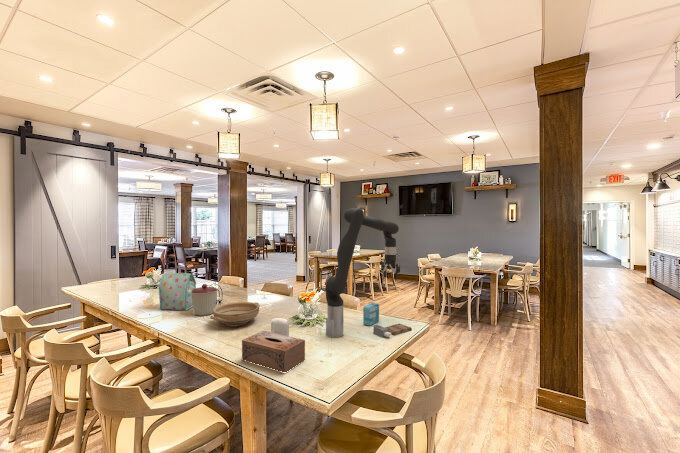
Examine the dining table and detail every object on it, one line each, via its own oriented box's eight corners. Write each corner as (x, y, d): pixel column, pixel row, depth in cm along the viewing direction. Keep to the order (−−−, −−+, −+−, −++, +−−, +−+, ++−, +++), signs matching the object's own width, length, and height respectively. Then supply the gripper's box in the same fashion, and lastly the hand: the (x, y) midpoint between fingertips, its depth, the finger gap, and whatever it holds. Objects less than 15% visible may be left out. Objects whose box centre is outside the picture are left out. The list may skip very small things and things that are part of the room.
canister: (212, 317, 212) (211, 286, 212) (185, 317, 212) (185, 286, 212) (222, 310, 230) (222, 281, 230) (198, 310, 230) (197, 281, 230)
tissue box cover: (304, 361, 146) (304, 339, 146) (285, 374, 134) (285, 351, 134) (263, 350, 159) (263, 330, 159) (242, 361, 146) (241, 340, 146)
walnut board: (393, 335, 178) (393, 332, 178) (381, 330, 186) (381, 327, 186) (411, 330, 187) (411, 327, 187) (399, 325, 195) (399, 323, 195)
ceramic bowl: (228, 336, 177) (228, 318, 177) (196, 327, 192) (196, 311, 191) (273, 318, 210) (273, 303, 209) (242, 312, 224) (242, 298, 224)
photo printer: (290, 340, 171) (290, 318, 171) (286, 343, 167) (286, 320, 167) (273, 338, 174) (273, 316, 174) (269, 341, 170) (269, 318, 170)
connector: (392, 337, 175) (392, 330, 175) (386, 339, 172) (386, 332, 172) (377, 331, 185) (377, 324, 185) (371, 332, 182) (371, 326, 182)
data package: (369, 326, 194) (369, 307, 193) (363, 325, 196) (363, 306, 196) (379, 321, 203) (379, 303, 203) (373, 320, 206) (373, 302, 206)
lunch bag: (198, 305, 243) (198, 271, 242) (186, 311, 226) (185, 274, 226) (170, 304, 245) (170, 270, 245) (156, 310, 229) (156, 274, 228)
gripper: (378, 253, 207) (378, 277, 207) (395, 254, 196) (395, 280, 196) (386, 252, 212) (385, 276, 212) (402, 254, 201) (402, 279, 201)
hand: (390, 278), depth 204 cm, fingers open, 8 cm apart
